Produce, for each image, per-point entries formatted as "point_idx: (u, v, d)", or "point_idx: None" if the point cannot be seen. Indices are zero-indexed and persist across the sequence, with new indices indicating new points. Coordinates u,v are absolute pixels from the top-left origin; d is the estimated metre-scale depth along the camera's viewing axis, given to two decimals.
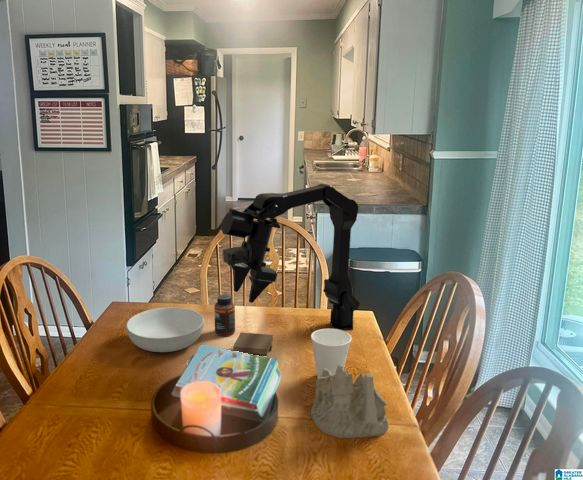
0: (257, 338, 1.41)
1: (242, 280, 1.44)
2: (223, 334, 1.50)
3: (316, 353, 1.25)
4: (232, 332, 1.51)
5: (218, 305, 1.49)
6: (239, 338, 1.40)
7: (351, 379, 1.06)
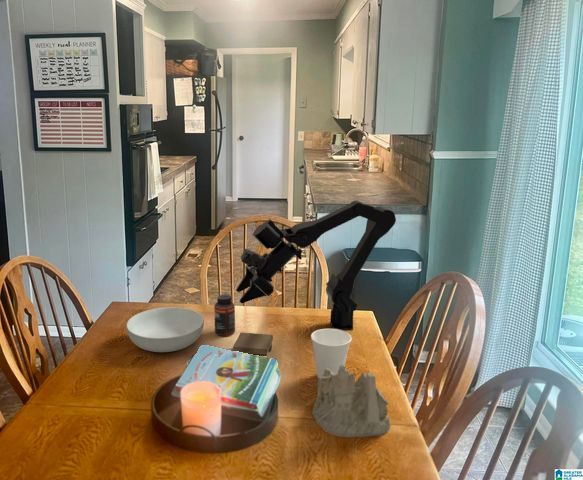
0: (257, 338, 1.41)
1: (247, 285, 1.56)
2: (223, 334, 1.50)
3: (316, 353, 1.25)
4: (232, 332, 1.51)
5: (218, 305, 1.49)
6: (239, 338, 1.40)
7: (353, 379, 1.06)
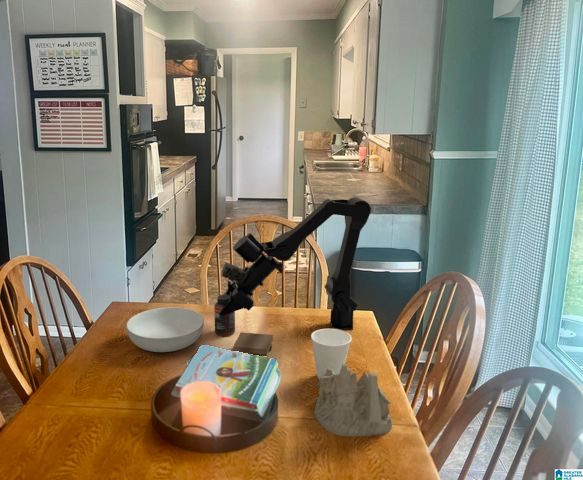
0: (257, 338, 1.41)
1: None
2: (223, 334, 1.50)
3: (316, 353, 1.25)
4: (232, 332, 1.51)
5: (218, 305, 1.49)
6: (239, 338, 1.40)
7: (355, 378, 1.07)
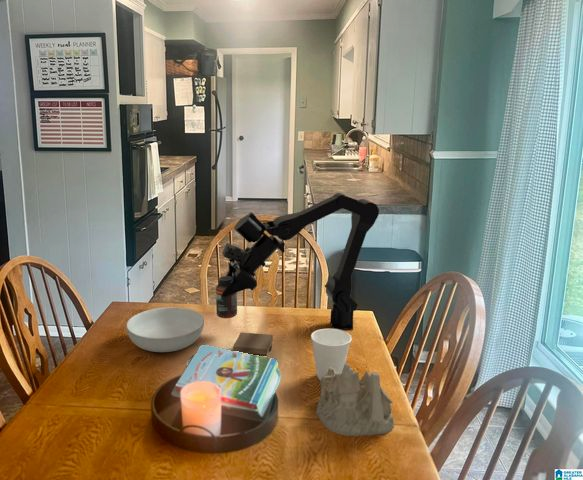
0: (257, 338, 1.41)
1: None
2: (225, 316, 1.47)
3: (316, 353, 1.25)
4: (234, 314, 1.49)
5: (220, 286, 1.46)
6: (239, 338, 1.40)
7: (357, 377, 1.07)
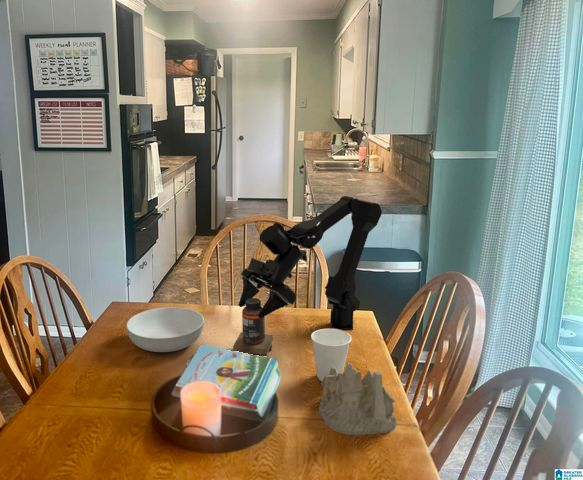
0: None
1: (249, 298, 1.41)
2: (257, 341, 1.37)
3: (316, 353, 1.25)
4: (264, 337, 1.39)
5: (250, 311, 1.35)
6: (239, 338, 1.40)
7: (360, 377, 1.07)
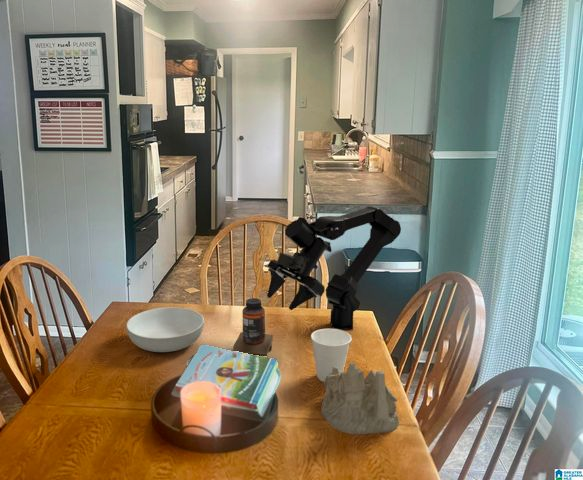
0: None
1: (276, 289, 1.48)
2: (257, 341, 1.37)
3: (316, 353, 1.25)
4: (264, 337, 1.39)
5: (250, 311, 1.35)
6: (239, 338, 1.40)
7: (363, 376, 1.07)
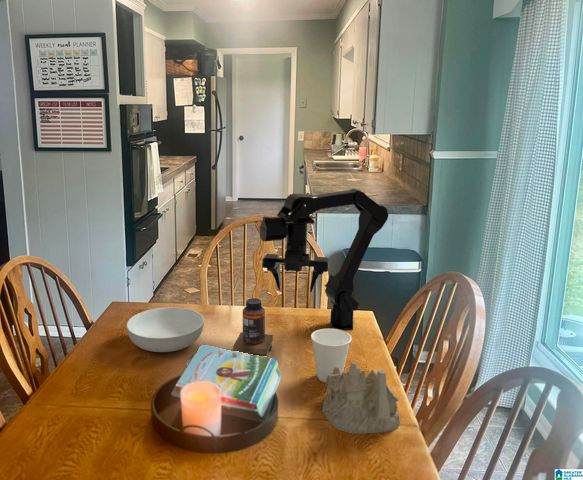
0: None
1: None
2: (257, 341, 1.37)
3: (316, 353, 1.25)
4: (264, 338, 1.39)
5: (250, 311, 1.35)
6: (239, 338, 1.40)
7: (364, 376, 1.08)
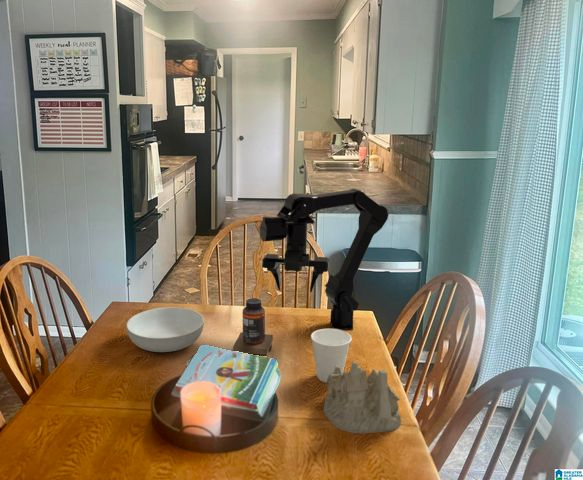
0: None
1: None
2: (257, 341, 1.37)
3: (316, 353, 1.25)
4: (264, 338, 1.39)
5: (250, 311, 1.35)
6: (239, 338, 1.40)
7: (365, 375, 1.08)
